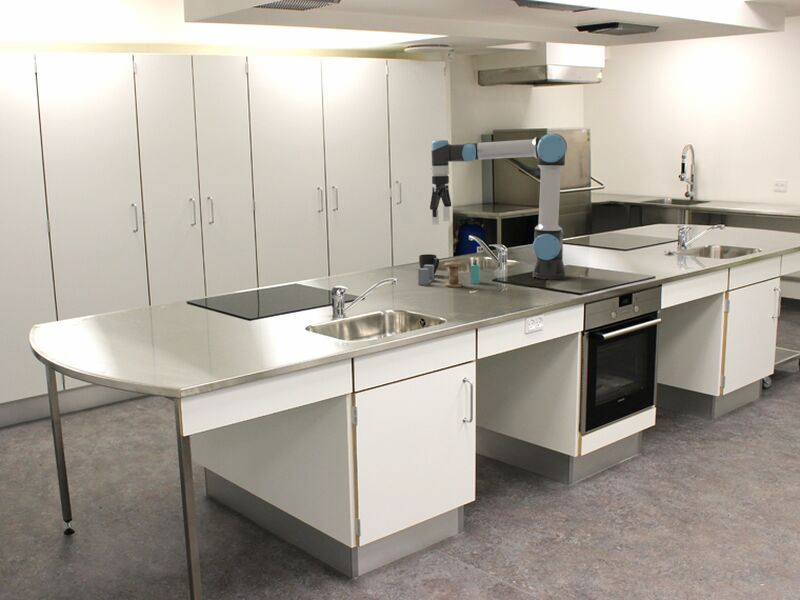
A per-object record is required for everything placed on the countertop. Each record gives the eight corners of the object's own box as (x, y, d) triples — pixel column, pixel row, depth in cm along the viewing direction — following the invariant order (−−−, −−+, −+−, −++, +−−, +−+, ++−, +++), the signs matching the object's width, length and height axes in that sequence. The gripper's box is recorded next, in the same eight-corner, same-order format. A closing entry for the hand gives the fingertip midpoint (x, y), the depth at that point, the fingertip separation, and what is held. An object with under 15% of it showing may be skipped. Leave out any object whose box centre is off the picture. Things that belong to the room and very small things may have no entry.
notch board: (434, 279, 401) (433, 264, 400) (427, 285, 388) (427, 269, 386) (425, 279, 402) (425, 264, 401) (418, 285, 389) (418, 269, 388)
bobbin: (464, 284, 388) (464, 262, 386) (461, 287, 380) (460, 265, 378) (446, 284, 390) (446, 261, 388) (443, 287, 382) (442, 264, 380)
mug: (430, 278, 404) (430, 258, 403) (415, 275, 414) (415, 255, 412) (445, 276, 409) (444, 256, 407) (430, 273, 419) (429, 253, 417)
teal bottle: (479, 282, 393) (479, 259, 391) (478, 283, 389) (478, 260, 387) (472, 282, 393) (472, 259, 391) (470, 283, 390) (470, 260, 388)
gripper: (442, 173, 404) (443, 219, 408) (421, 176, 381) (422, 225, 386) (457, 173, 401) (458, 219, 405) (438, 176, 378) (438, 225, 383)
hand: (441, 222), depth 395 cm, fingers open, 13 cm apart
